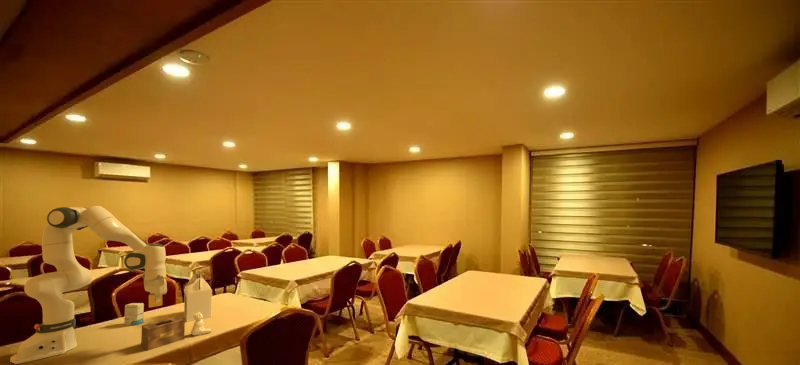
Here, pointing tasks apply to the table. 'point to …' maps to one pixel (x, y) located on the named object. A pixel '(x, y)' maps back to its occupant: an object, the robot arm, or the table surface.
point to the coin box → (162, 332)
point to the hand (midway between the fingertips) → (155, 301)
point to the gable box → (197, 298)
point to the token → (152, 301)
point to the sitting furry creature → (199, 326)
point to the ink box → (134, 313)
